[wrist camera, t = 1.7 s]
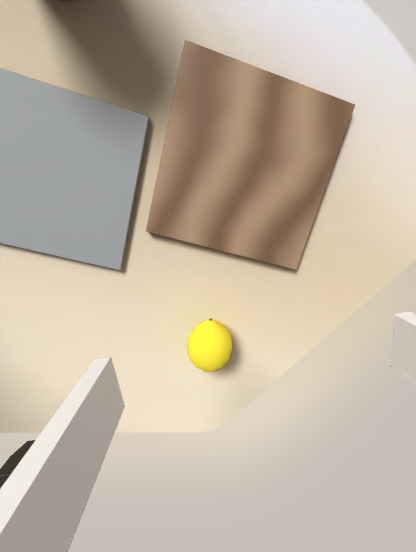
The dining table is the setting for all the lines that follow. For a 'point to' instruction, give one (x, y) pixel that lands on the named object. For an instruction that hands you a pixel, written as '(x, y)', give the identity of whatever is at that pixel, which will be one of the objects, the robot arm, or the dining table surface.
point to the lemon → (209, 345)
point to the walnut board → (244, 158)
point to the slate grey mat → (67, 171)
